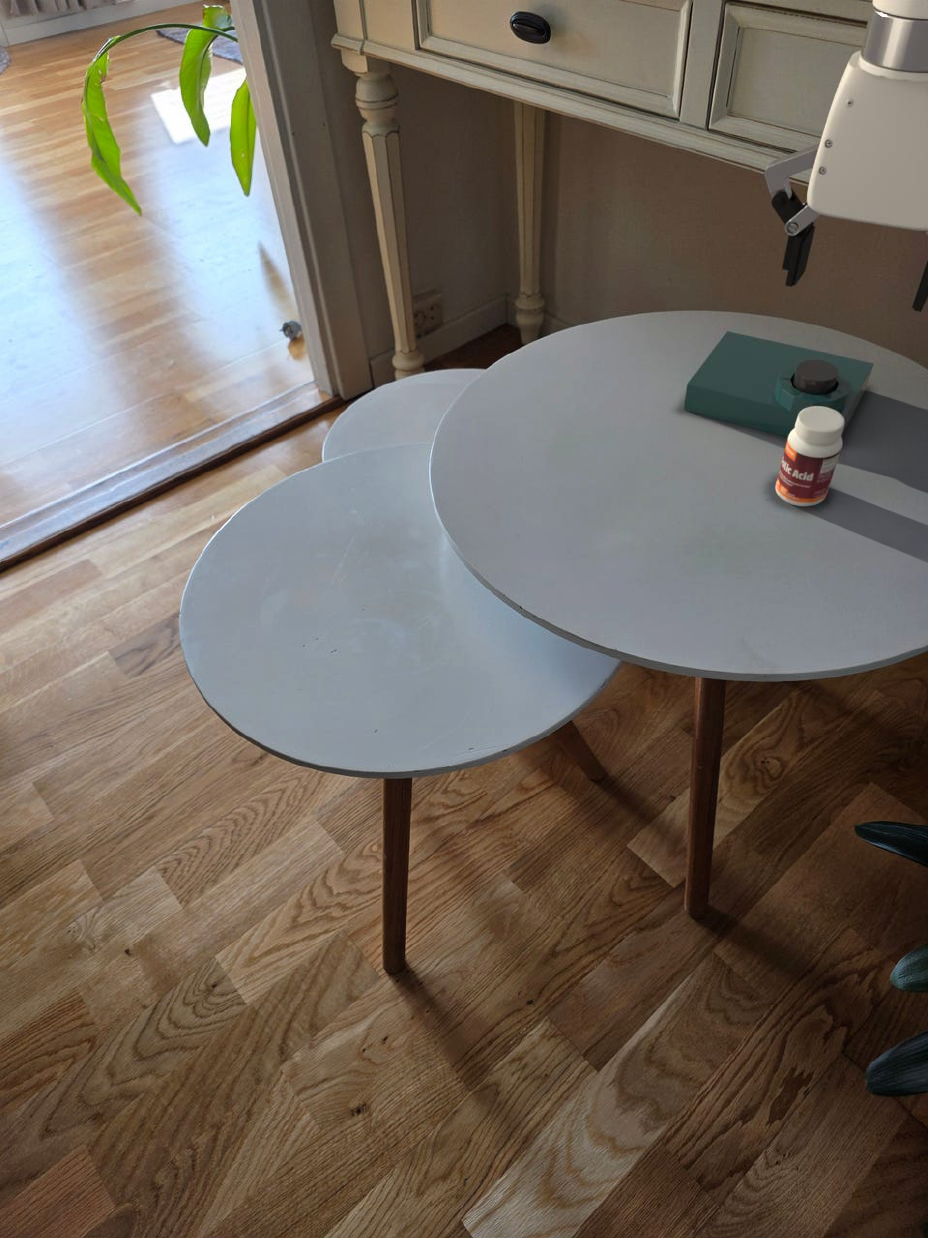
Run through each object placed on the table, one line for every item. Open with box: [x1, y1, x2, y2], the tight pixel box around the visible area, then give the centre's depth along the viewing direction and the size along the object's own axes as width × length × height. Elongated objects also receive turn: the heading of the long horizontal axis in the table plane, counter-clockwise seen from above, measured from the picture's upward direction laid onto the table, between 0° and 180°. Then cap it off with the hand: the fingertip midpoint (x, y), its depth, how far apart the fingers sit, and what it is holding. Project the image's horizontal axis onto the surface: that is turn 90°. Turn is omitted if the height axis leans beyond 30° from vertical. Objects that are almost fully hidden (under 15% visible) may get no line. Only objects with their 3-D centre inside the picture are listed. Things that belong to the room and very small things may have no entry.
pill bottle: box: [775, 406, 845, 507], centre depth 80 cm, size 5×5×8 cm
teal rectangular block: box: [683, 330, 875, 438], centre depth 92 cm, size 16×12×5 cm
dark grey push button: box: [793, 360, 839, 395], centre depth 87 cm, size 4×4×2 cm
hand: (855, 290), depth 69 cm, fingers open, 9 cm apart
